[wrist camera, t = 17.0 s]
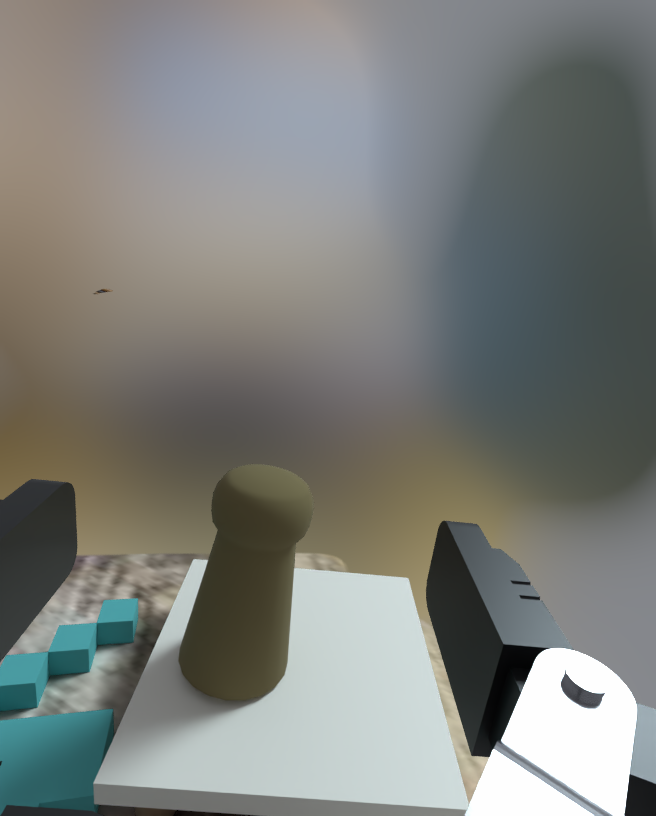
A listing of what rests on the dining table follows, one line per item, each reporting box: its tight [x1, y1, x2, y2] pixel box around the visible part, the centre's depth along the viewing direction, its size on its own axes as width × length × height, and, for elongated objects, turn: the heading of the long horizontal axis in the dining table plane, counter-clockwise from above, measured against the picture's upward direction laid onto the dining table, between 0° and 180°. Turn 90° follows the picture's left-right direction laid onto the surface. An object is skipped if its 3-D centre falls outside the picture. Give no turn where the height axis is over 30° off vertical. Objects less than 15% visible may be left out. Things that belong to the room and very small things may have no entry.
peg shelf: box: [93, 559, 469, 816], centre depth 29 cm, size 16×16×4 cm
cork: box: [178, 464, 314, 700], centre depth 26 cm, size 6×6×11 cm
